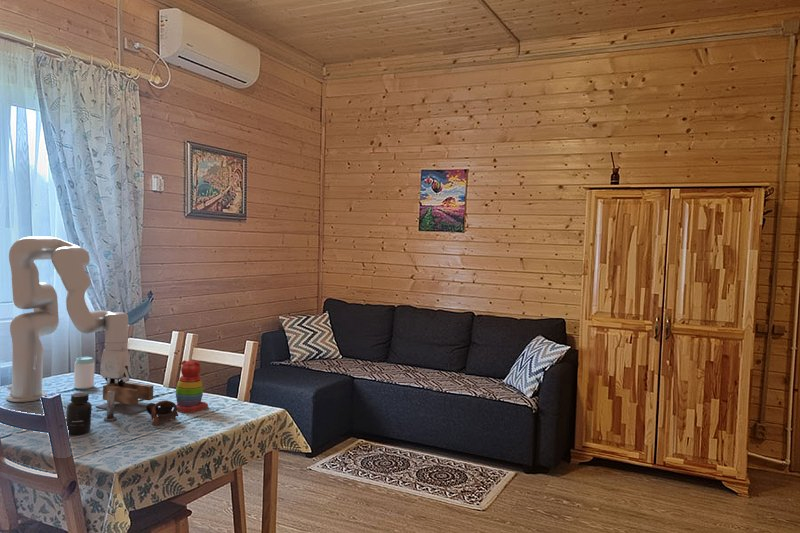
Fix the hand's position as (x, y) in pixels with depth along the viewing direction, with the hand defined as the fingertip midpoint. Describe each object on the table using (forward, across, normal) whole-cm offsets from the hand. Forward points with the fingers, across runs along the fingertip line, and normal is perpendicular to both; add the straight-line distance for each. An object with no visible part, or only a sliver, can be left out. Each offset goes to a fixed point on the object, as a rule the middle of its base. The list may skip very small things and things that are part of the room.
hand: (115, 395), depth 215 cm
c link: (0, +6, 0) cm, 6 cm away
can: (+3, -29, +11) cm, 32 cm away
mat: (+3, +6, 0) cm, 7 cm away
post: (+3, +13, -14) cm, 19 cm away
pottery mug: (+4, +28, -7) cm, 29 cm away
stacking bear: (+4, +26, +10) cm, 28 cm away
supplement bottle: (+4, +15, -28) cm, 31 cm away
